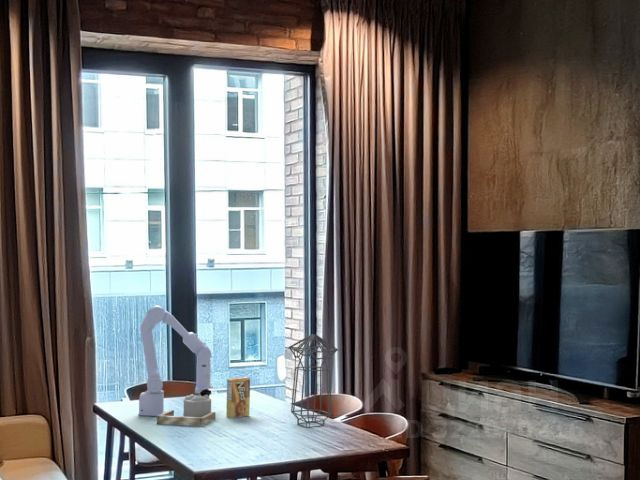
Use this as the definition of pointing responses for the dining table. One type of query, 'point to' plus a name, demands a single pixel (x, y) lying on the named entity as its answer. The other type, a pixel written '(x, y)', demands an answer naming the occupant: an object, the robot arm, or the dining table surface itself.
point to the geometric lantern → (318, 342)
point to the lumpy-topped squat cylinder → (197, 405)
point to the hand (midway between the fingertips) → (203, 408)
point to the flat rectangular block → (184, 419)
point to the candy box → (238, 397)
